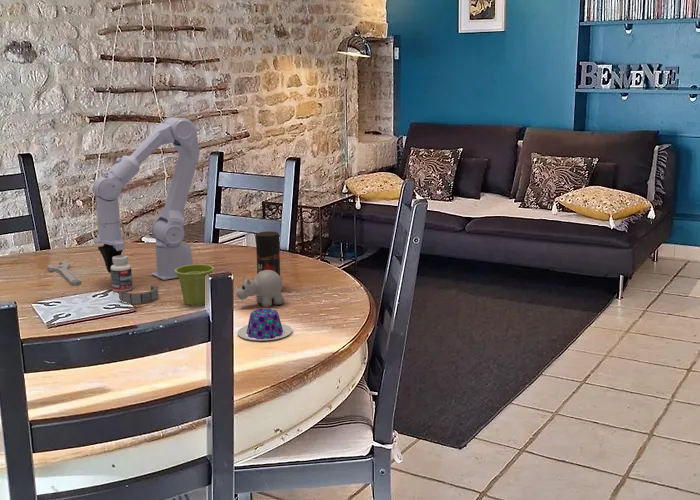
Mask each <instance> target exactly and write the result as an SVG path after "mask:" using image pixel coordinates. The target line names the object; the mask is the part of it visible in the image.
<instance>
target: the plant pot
mask: <svg viewBox="0 0 700 500" xmlns="http://www.w3.org/2000/svg"><path fill="white" fill-rule="evenodd" d="M214 268H215V267H214V266H212V265H210V264H204V263H199V264H192V265H186V266H182V267H179V268H177V269H175V272H176V273H177V275H178V278H177V279H178V280H179V284H180V290H181V295H182V299H183V303H184V304H185V305H187V306H189V305H192V306H202V305H205V304H204V303H205V276H206V275H207V274H210V273H212V274H213V271H214Z"/></svg>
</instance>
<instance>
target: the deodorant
mask: <svg viewBox="0 0 700 500" xmlns="http://www.w3.org/2000/svg"><path fill="white" fill-rule="evenodd" d="M255 247H256V248H255V250H256V271H257V274H258V273H259V272H261V271H264V270H272V271H274V272H276V273H277V274H278V275H279V276H280V277H281V260H280V259H281V258H280V254H281V253H280V233H279V232H276V231H268V230H267V231H260V232H257V233H255ZM257 274H256V275H257Z"/></svg>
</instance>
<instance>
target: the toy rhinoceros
mask: <svg viewBox="0 0 700 500" xmlns="http://www.w3.org/2000/svg"><path fill="white" fill-rule="evenodd" d="M234 289H235V290H234V292H235V293H236V297H237V298H238V299H239V300H243V301H244V300H246V299H247V298H248V297H253V296H254V295H256V302H257V303H259V304H261V306H262V307H263V308H268V307H271V306H272V305H273V304H274V305H281V304H283V303H284V302H285V301H284V300H285V299H284V296H283V294H282V289H283V278H282V277H281V275H280V276H279V275H278V274H277V273H276V272H274V271H272V270H264V271H261V272H259V273H258V274H256V275H255V277H254V278H253V279H251V278H247V277H246V276H245V275H244V276H243V281H242V282H241V286H240V287H239V288H238V285H236V286H235V288H234Z"/></svg>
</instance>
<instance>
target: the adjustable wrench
mask: <svg viewBox="0 0 700 500" xmlns="http://www.w3.org/2000/svg"><path fill="white" fill-rule="evenodd" d="M70 268H71V263H70V262H68V261H59V262H58V264H57V265H55V264H53V263H52V264H51V263H49V264H48V265H47V271H48V273H50V272H51V273H58V274H60V276H61V277H63V279H64V280H65V281H67V282H68V284H70V286H72V287H77V286H78V287H79V286H80V285H82V280H81V279H80V278H79V277H77V275H75V273H73V272H72V271H71V270H69V269H70Z"/></svg>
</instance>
